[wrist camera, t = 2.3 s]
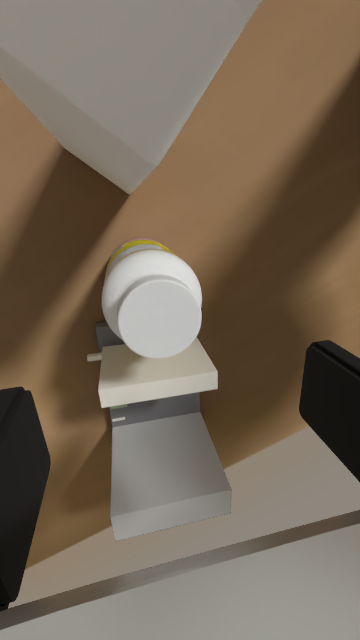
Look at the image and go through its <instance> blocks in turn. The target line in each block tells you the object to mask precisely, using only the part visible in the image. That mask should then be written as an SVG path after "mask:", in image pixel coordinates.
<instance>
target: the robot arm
mask: <svg viewBox="0 0 360 640" xmlns="http://www.w3.org/2000/svg"><path fill="white" fill-rule="evenodd" d="M299 411H300V415H301V417H302V418H303V419H304V420H305V421H306V423H307V424H308V425H309V426H310V427H311V428H312V429H313V430H314V432H316V434H317V435H318V436H319V437H320V438H321V439H322V440H323V441H324V443H325V444H326V445H327V446H328V447H329V448H330V449H331V451H332V452H333V453H334V454H335V455H336V456H337V457H338V458H339V459H340V461H341V462H342V463H343V464H344V465H345V466H346V467H347V468H348V470H349V471H351V473H352V474H353V475H354V476H355V477H356V478H357V479H358V481H359V482H360V358H358V357H356V356H355V355H353V354H351V353H350V352H348V351H347V350H345V349H343V348H342V347H340V346H338V345H337V344H335V343H333V342H332V341H330V340H326V341H319V342H313V343H312V344H311V345H310V347H308V348H307V351H306V358H305V365H304V373H303V381H302V389H301V397H300V404H299ZM49 470H50V455H49V452H48V448H47V445H46V441H45V438H44V434H43V431H42V427H41V424H40V421H39V417H38V414H37V410H36V407H35V403H34V400H33V397H32V393H31V392H30V391H29V390H27V391H25V390H24V388H23V387H15V388H8V389H2V390H0V640H360V510H358V511H354V512H351V513H346V514H343V515H339V516H335V517H331V518H328V519H324V520H321V521H317V522H313V523H310V524H306V525H302V526H299V527H295V528H291V529H287V530H284V531H280V532H276V533H273V534H269V535H265V536H262V537H258V538H255V539H251V540H247V541H243V542H240V543H236V544H232V545H229V546H226V547H221V548H218V549H214V550H211V551H207V552H204V553H200V554H197V555H193V556H189V557H186V558H182V559H179V560H175V561H171V562H168V563H164V564H160V565H157V566H153V567H150V568H146V569H143V570H139V571H135V572H132V573H128V574H125V575H121V576H118V577H114V578H111V579H107V580H104V581H100V582H96V583H93V584H90V585H86V586H83V587H80V588H76V589H73V590H69V591H66V592H63V593H59V594H56V595H53V596H49V597H46V598H42V599H40V600H36V601H32V602H29V603H26V604H22V605H19V606H16V607H13V608H9V609H8V606H9V603H10V602H14V601H15V600H16V598H17V596H18V593H19V590H20V586H21V582H22V578H23V574H24V570H25V566H26V562H27V558H28V554H29V550H30V546H31V542H32V538H33V534H34V530H35V526H36V522H37V518H38V514H39V510H40V506H41V502H42V498H43V494H44V490H45V486H46V482H47V478H48V474H49Z"/></svg>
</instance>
